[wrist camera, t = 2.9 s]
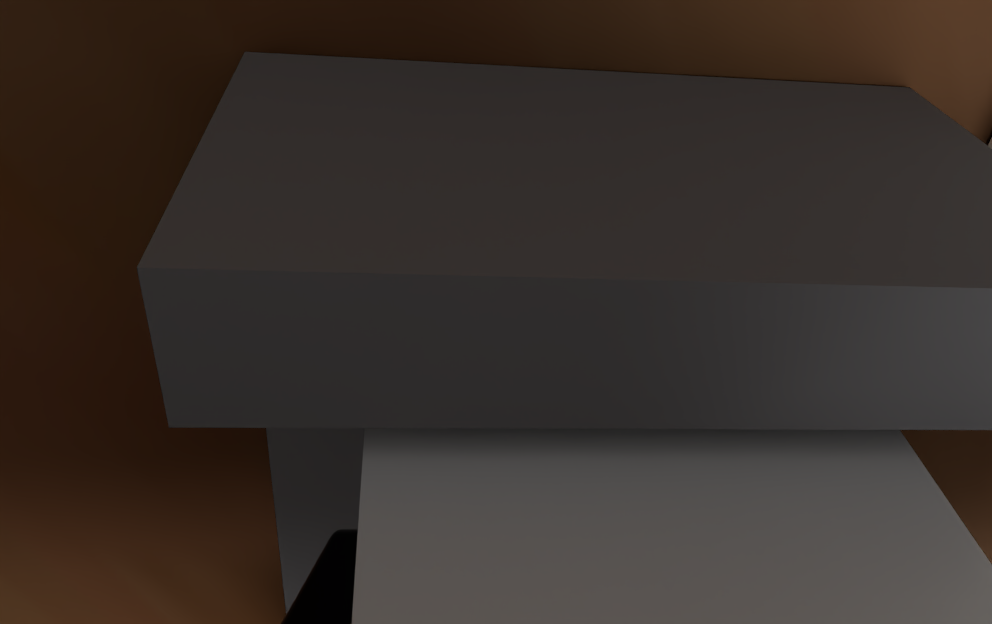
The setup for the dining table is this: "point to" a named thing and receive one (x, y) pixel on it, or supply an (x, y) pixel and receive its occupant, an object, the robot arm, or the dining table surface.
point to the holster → (561, 263)
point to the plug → (659, 529)
